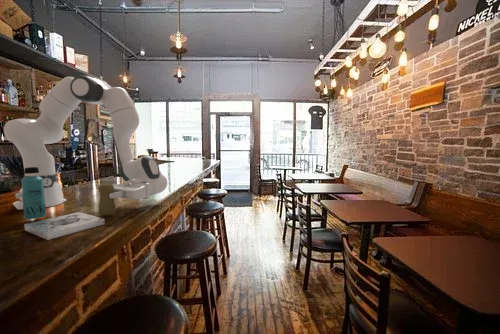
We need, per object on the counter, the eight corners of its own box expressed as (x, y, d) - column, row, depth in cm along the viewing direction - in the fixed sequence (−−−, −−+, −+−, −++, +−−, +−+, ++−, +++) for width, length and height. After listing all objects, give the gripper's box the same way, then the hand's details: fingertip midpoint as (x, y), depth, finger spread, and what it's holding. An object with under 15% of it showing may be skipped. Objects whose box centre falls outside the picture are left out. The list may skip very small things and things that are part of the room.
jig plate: (24, 230, 87) (24, 224, 87) (79, 217, 101) (79, 212, 101) (48, 240, 78) (47, 233, 78) (104, 224, 93) (104, 218, 92)
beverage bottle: (20, 222, 96) (14, 167, 94) (40, 217, 102) (35, 166, 100) (31, 224, 93) (25, 168, 91) (51, 219, 99) (46, 166, 97)
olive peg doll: (111, 214, 98) (110, 185, 96) (94, 214, 98) (93, 185, 96) (119, 210, 104) (118, 182, 103) (103, 210, 104) (102, 182, 102)
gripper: (118, 179, 116) (86, 184, 103) (152, 183, 107) (122, 189, 94) (119, 193, 116) (88, 200, 104) (152, 198, 107) (123, 206, 95)
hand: (104, 195), depth 99 cm, fingers closed on olive peg doll, 4 cm apart
